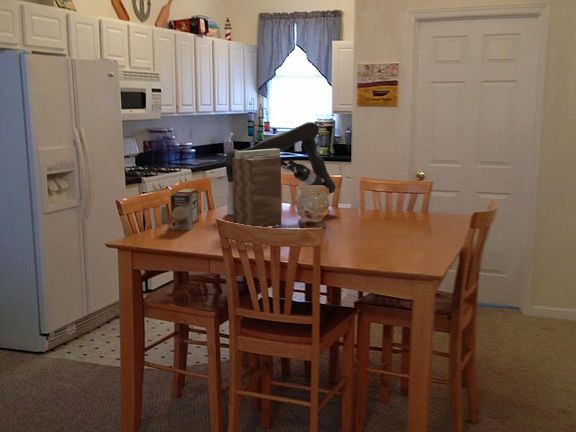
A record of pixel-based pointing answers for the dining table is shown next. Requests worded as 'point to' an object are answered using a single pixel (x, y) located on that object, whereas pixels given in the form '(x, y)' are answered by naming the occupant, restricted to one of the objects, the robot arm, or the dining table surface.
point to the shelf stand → (257, 190)
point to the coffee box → (181, 211)
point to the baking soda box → (195, 201)
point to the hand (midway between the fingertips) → (283, 160)
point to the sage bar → (256, 152)
